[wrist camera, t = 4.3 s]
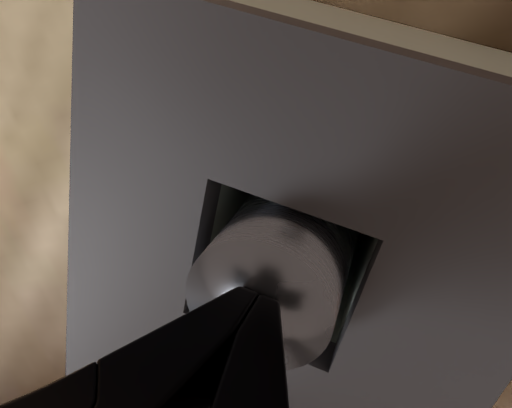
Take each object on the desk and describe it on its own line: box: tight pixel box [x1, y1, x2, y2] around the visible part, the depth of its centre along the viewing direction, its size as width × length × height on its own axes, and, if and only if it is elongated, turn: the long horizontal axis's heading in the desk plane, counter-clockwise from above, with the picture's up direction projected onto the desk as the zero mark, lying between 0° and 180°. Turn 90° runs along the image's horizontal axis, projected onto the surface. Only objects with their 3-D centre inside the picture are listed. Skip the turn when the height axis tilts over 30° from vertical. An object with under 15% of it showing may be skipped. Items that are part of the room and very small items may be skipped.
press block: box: [65, 0, 512, 408], centre depth 14 cm, size 10×18×6 cm, turn 167°
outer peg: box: [186, 194, 360, 370], centre depth 11 cm, size 3×3×6 cm
